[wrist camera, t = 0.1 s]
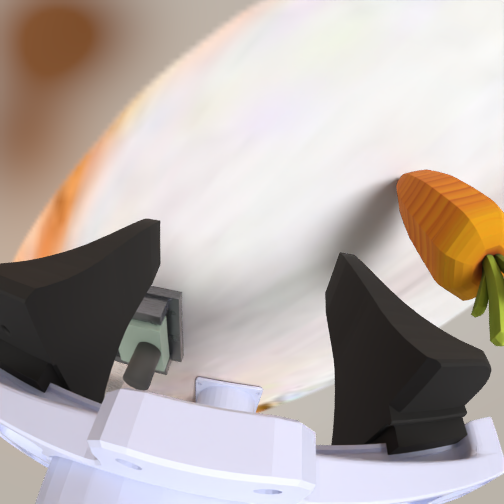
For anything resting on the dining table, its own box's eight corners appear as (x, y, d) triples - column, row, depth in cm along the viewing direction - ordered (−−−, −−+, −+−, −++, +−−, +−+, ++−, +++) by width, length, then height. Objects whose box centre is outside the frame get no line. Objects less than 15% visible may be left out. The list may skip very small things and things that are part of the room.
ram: (169, 356, 28) (153, 402, 23) (128, 346, 28) (108, 389, 23) (166, 316, 25) (145, 366, 20) (119, 305, 25) (92, 350, 20)
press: (183, 355, 31) (176, 378, 28) (70, 324, 31) (58, 342, 28) (181, 292, 26) (171, 317, 23) (52, 262, 26) (34, 280, 23)
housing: (136, 383, 36) (124, 413, 31) (107, 375, 36) (94, 403, 31) (130, 365, 33) (117, 397, 29) (100, 356, 34) (85, 386, 29)
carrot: (437, 155, 18) (588, 268, 5) (422, 215, 20) (530, 364, 7) (378, 141, 18) (531, 258, 5) (365, 207, 20) (456, 379, 8)
